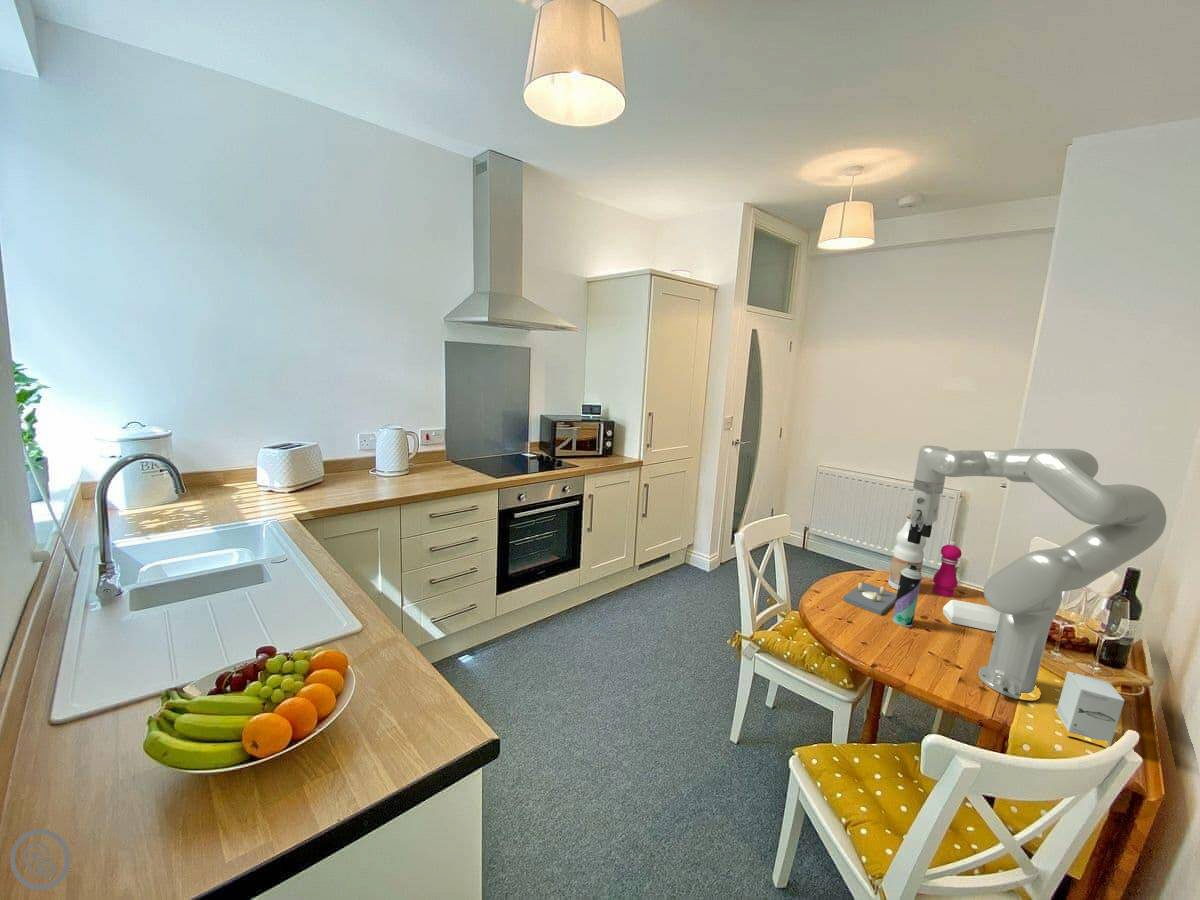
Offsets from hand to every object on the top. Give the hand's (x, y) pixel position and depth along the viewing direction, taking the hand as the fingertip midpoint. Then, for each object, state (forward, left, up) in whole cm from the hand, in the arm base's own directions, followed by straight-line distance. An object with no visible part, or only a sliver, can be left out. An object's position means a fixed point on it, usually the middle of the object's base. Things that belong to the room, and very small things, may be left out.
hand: (918, 539), depth 147 cm
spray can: (-1, 0, -28) cm, 28 cm away
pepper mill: (+35, -3, -28) cm, 45 cm away
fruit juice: (+27, +8, -28) cm, 40 cm away
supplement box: (-21, -42, -28) cm, 55 cm away
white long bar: (+19, -18, -29) cm, 39 cm away
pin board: (+7, +12, -28) cm, 31 cm away
